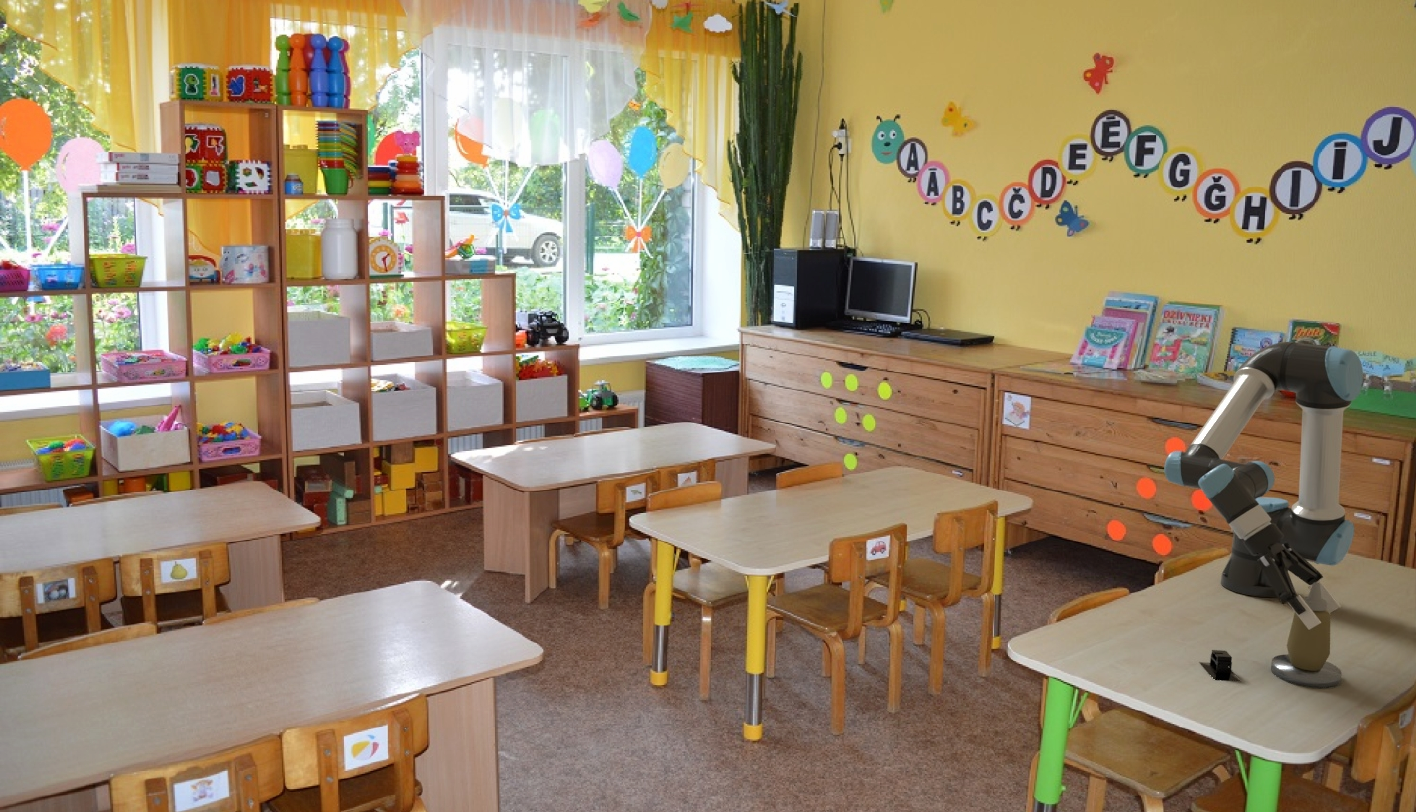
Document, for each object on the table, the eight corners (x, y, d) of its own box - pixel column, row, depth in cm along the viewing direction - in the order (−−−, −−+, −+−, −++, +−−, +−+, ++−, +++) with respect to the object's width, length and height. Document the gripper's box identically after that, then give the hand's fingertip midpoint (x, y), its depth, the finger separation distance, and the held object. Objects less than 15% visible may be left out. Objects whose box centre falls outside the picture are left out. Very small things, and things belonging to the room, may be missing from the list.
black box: (1192, 661, 258) (1194, 641, 257) (1227, 663, 257) (1230, 643, 256) (1212, 685, 246) (1214, 664, 245) (1248, 687, 245) (1251, 666, 244)
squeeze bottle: (1318, 660, 254) (1329, 578, 251) (1334, 675, 246) (1345, 590, 243) (1278, 657, 255) (1289, 575, 252) (1292, 672, 247) (1303, 588, 244)
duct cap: (1289, 658, 260) (1291, 649, 259) (1351, 679, 250) (1353, 670, 249) (1258, 672, 252) (1260, 662, 251) (1321, 693, 242) (1322, 684, 241)
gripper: (1262, 529, 265) (1327, 612, 258) (1221, 552, 247) (1290, 642, 240) (1290, 511, 261) (1357, 594, 254) (1251, 533, 243) (1322, 624, 235)
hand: (1325, 618), depth 247 cm, fingers open, 13 cm apart
